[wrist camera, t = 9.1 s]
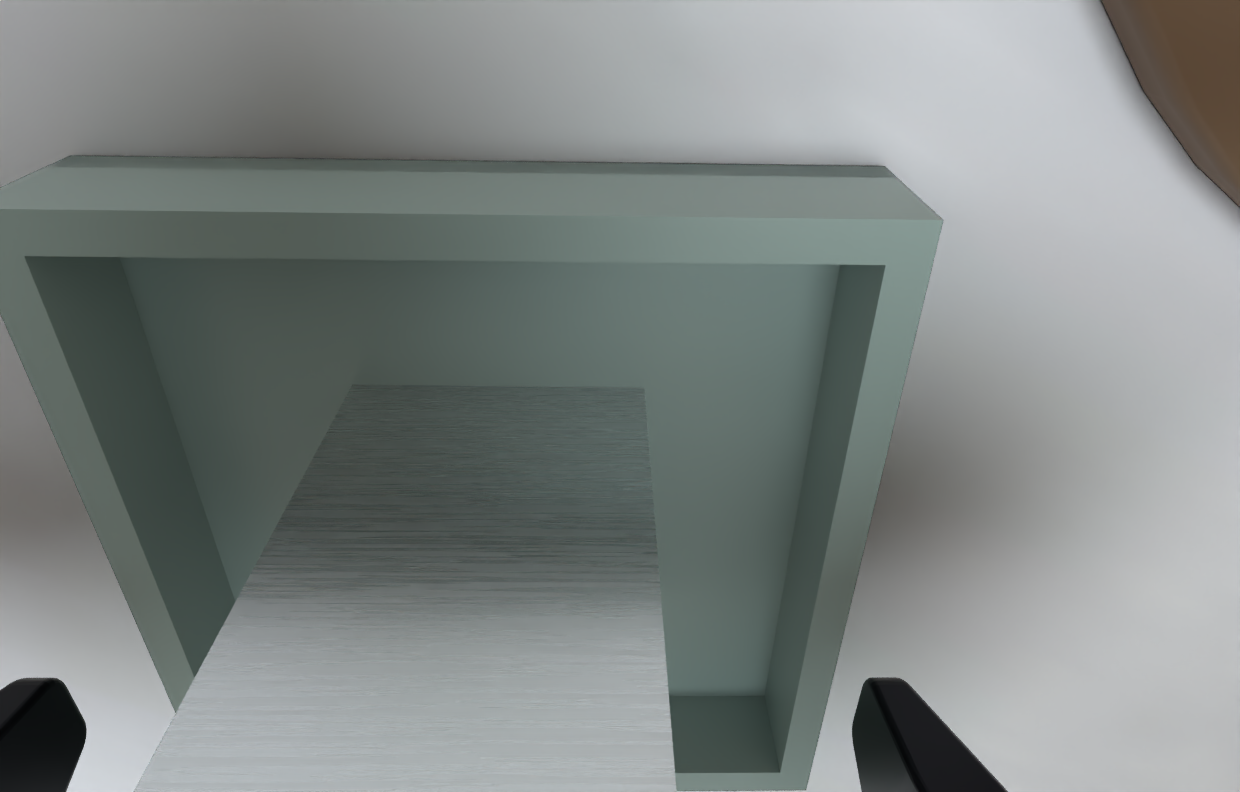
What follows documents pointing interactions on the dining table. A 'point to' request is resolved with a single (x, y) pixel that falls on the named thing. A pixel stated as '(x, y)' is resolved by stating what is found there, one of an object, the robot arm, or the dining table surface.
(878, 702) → the robot arm
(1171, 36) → the base
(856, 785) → the dining table surface
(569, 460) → the block
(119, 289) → the tray
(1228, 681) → the dining table surface
